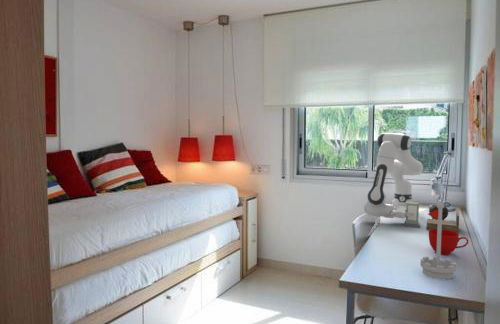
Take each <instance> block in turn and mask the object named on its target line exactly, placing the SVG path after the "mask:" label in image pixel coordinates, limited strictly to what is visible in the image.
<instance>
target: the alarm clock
mask: <svg viewBox="0 0 500 324" xmlns="http://www.w3.org/2000/svg"><path fill="white" fill-rule="evenodd" d="M440 199H441V201H440V202H443V198H441V197H440ZM438 200H439V198H437V199H436V201H437V202H436V203H433V204H432V205H431V206H430V207H429V208H428V209H429V210H428V214H429V213H431V212H433V211H435V210H437V209H438V208H437V206H436V204H437V203H438V202H439V201H438ZM430 217H431V219H436V218H434V217H432V216H430ZM447 217H449V209H448V207H447V206H445V205H444V208H442V220H446V219H447ZM437 220H438V219H437Z"/></svg>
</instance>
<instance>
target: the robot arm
mask: <svg viewBox="0 0 500 324" xmlns="http://www.w3.org/2000/svg"><path fill="white" fill-rule="evenodd" d="M376 142H377V145H378V147H379V149H378V153H377V156H376V164H375V165H376V167H375V175H374V179H373V184H372V187H371V189H370V190H369V191H368V193H367V201H366V202H365V203H364V212H365V214H366V215H367V216H371V217H378V218H379V217H380V218H381V217H383V218H387V219H394V218H401V219H406V216H413V213H407V212H406V204H407V202H413V203H415V201H413V200H412V197H413V196H412V195H413V194H412V183H411V181H410V180H407V179H406V178H405V177H404V176H420V175H421V174H422V173H423V172H424V165H423V164H422V162H421V161H419V160H418V159H416V158H415V157H413V156H412V155H413V154H411V149H410V148H411V146H412V137H410V135H407V134H404V133H397V132H396V133H390V132H389V133H387V132H384V133H383V132H382V133H380V134H379V135H378V136H377V141H376ZM388 174H389V176H391V177H392V179H393V180H394V187H395V188H394V191H395V192H394V195H393V197H394V198H393V200H391V203H385V202H386V199H387V195H386V192H385V191H384V186H385V185H384V184H385V181H386V177H387V175H388Z"/></svg>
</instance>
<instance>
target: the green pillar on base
mask: <svg viewBox="0 0 500 324" xmlns="http://www.w3.org/2000/svg"><path fill="white" fill-rule="evenodd" d="M413 202H414V201H413ZM413 202H407V204H406V212H407V213H413V216H405V221H404V223H403V227H407V228H417V229H419V228H420V227H421V222H419V215H420V213H419V212H420V211H419V209H420V203H419V202H414V203H413Z"/></svg>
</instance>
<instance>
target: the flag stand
mask: <svg viewBox="0 0 500 324" xmlns="http://www.w3.org/2000/svg"><path fill="white" fill-rule="evenodd" d="M436 203H437V204H436ZM436 203H435V204H436V206H437V208H438V209H437V210H435V211H433V212H431V213H429V212H428V213H427V215H429V217H431V216H432V217H434V218H436V219H438V226H437V252H435V253H436V256H433V257H432V259H431V258H430V257H429V256H423V257H422V258H420V262H419V265H420V267H421V268H422V273H424V274H425V276H426V275H427V277H428V276H429V277H428V278H431V277H432V279H435V278H437V279H436V280H443V279H447V280H451V278H452V279H453V277H454V274H455V272H456V271H457V263H456V262H453V261H452V259H449V258H444V260H442V259H441V255H442V254H441V231H442V208H444V206H445V203H444V201H442V202H441V201H438V202H436ZM432 217H431V218H432ZM424 274H423V275H424Z"/></svg>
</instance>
